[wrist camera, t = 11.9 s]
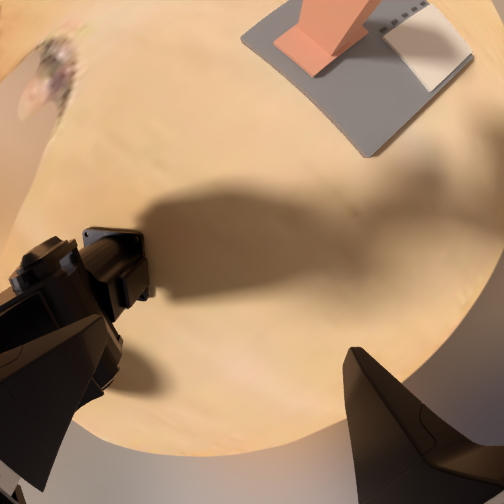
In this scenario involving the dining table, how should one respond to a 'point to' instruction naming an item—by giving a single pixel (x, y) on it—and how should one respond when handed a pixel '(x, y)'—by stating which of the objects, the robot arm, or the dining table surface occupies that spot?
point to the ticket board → (372, 67)
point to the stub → (325, 32)
